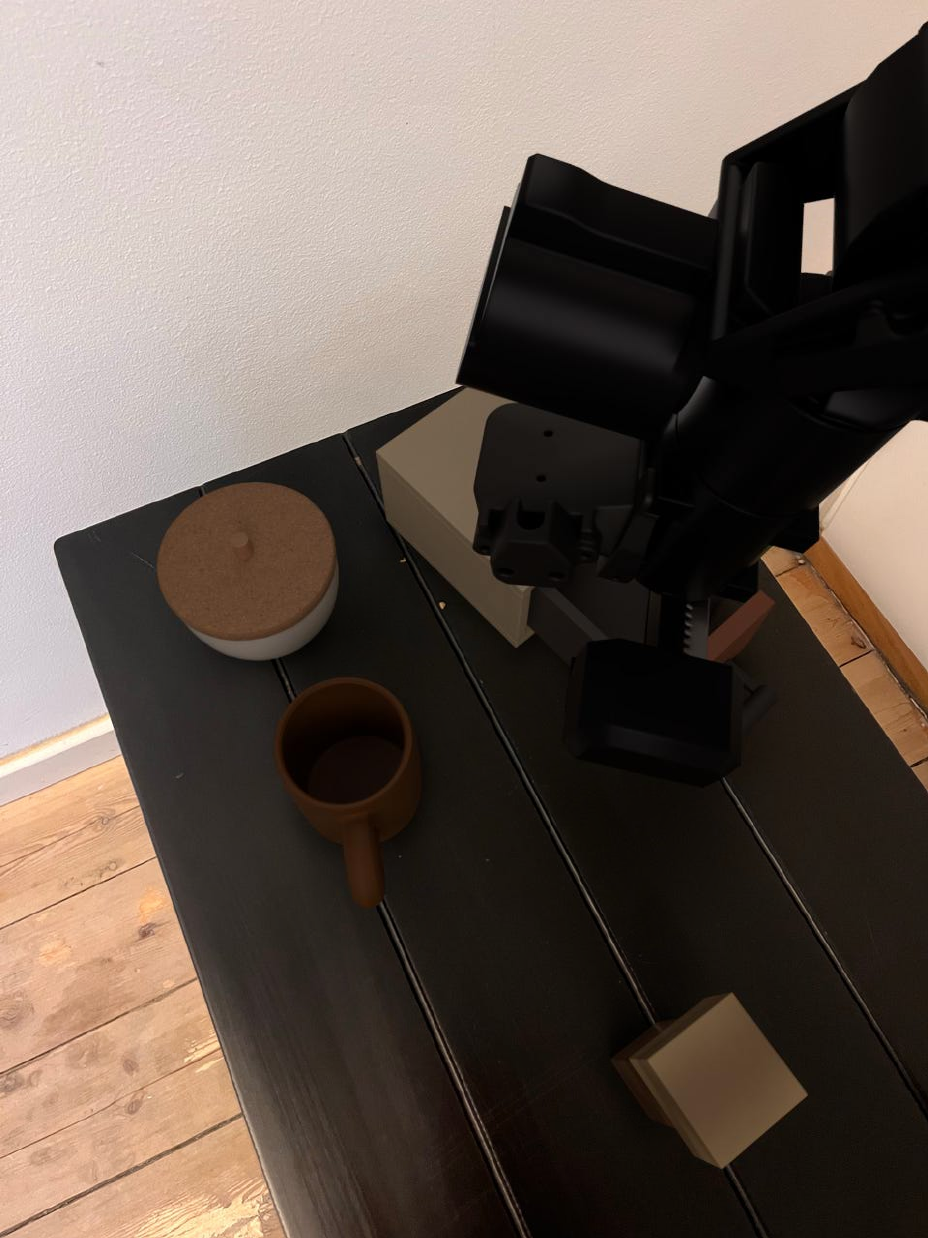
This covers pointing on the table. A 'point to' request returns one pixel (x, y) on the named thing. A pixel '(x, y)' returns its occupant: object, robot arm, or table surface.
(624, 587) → the drawer
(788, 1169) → the table surface
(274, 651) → the trinket box
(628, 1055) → the post
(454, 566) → the cabinet
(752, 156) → the robot arm
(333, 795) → the mug
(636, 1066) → the block
